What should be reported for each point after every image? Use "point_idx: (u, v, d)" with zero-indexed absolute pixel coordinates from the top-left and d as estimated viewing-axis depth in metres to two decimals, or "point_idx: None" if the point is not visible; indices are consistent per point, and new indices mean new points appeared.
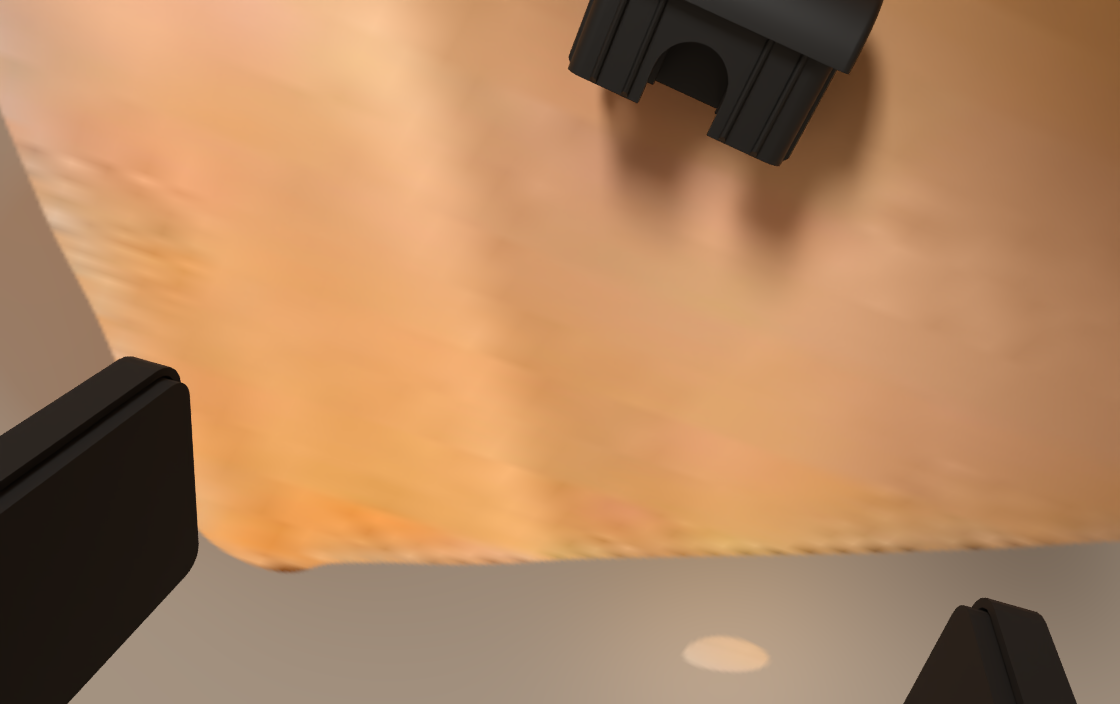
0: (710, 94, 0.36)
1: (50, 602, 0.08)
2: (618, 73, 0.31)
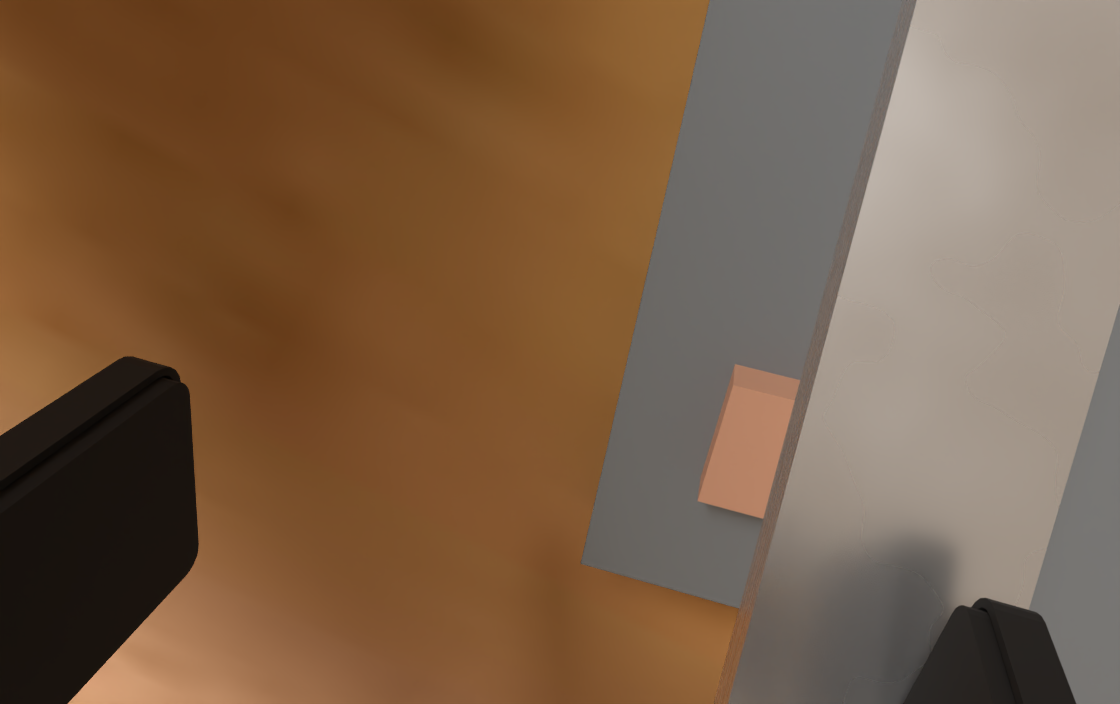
0: None
1: (50, 602, 0.08)
2: None
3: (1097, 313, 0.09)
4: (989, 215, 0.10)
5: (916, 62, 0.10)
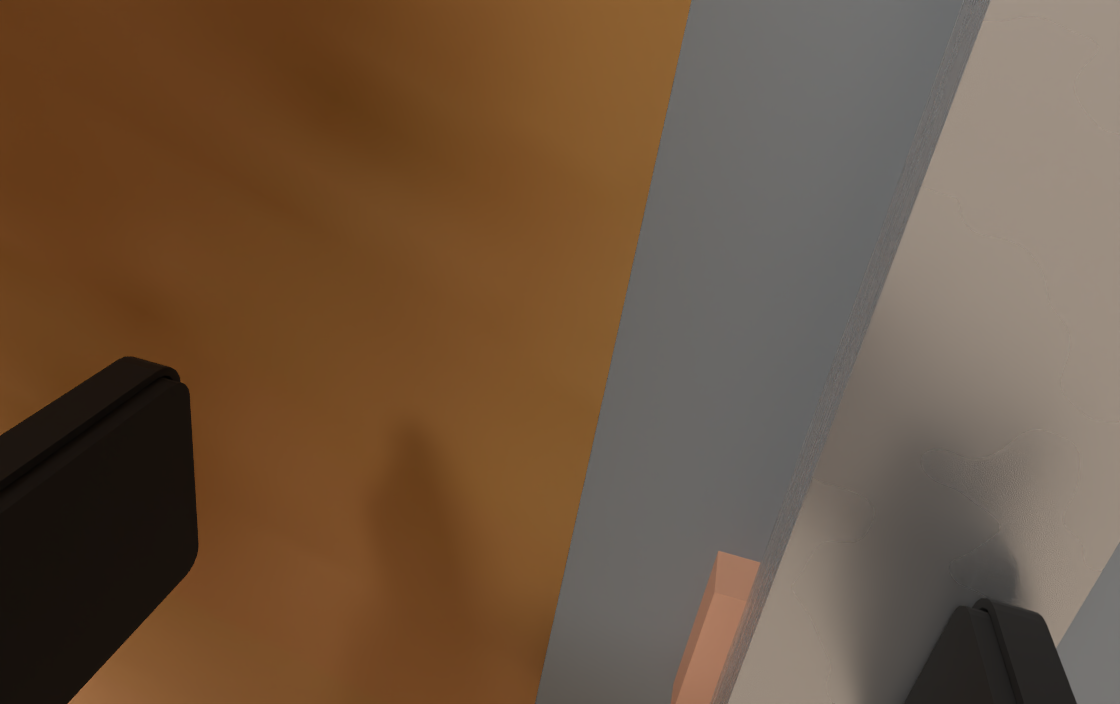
0: None
1: (50, 602, 0.08)
2: None
3: (1111, 516, 0.08)
4: (998, 408, 0.08)
5: (924, 233, 0.07)
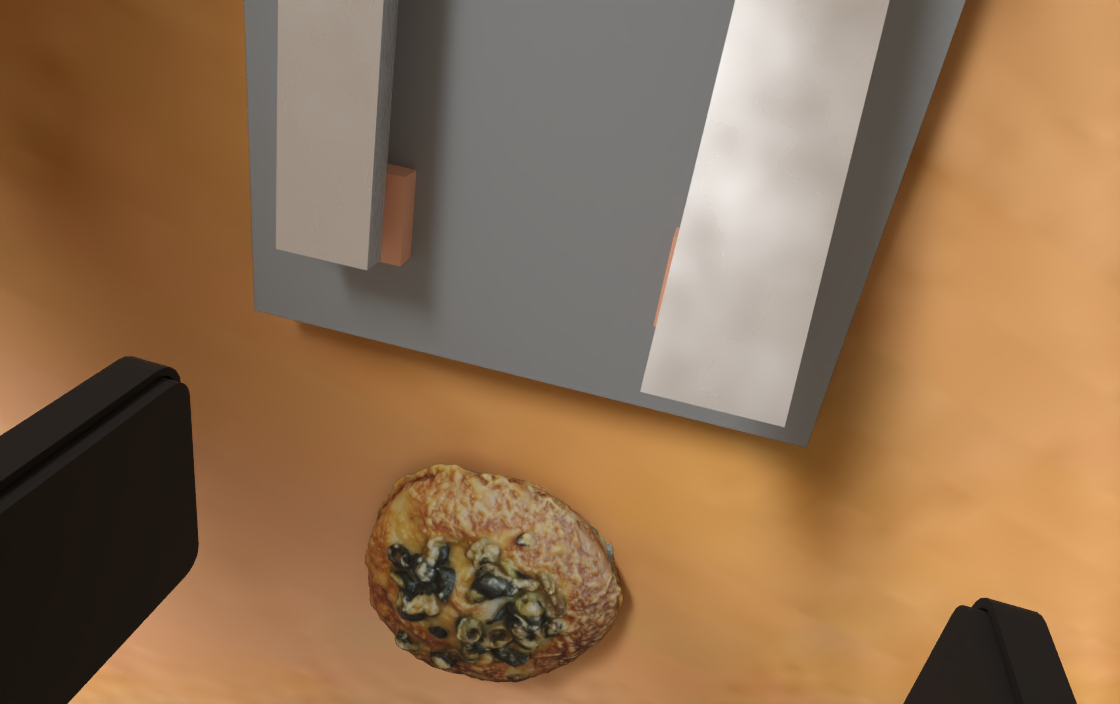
0: None
1: (50, 602, 0.08)
2: None
3: (372, 52, 0.22)
4: (326, 11, 0.22)
5: None
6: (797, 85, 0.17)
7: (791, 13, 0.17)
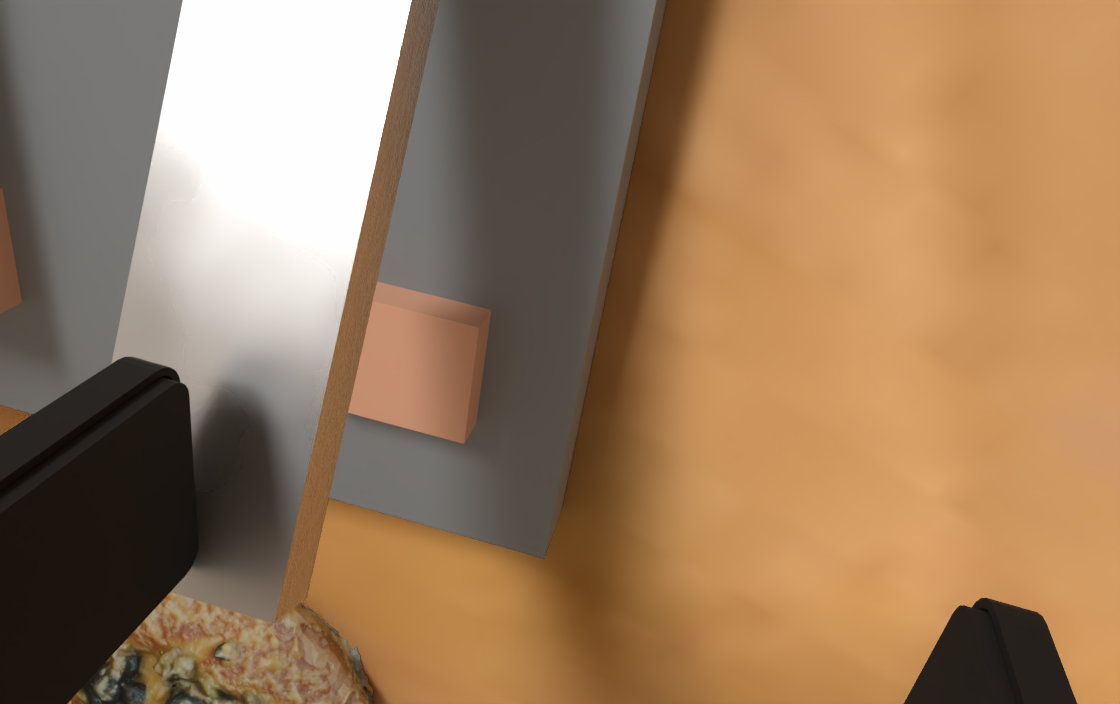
0: None
1: (49, 602, 0.08)
2: None
3: None
4: None
5: None
6: (286, 91, 0.11)
7: None
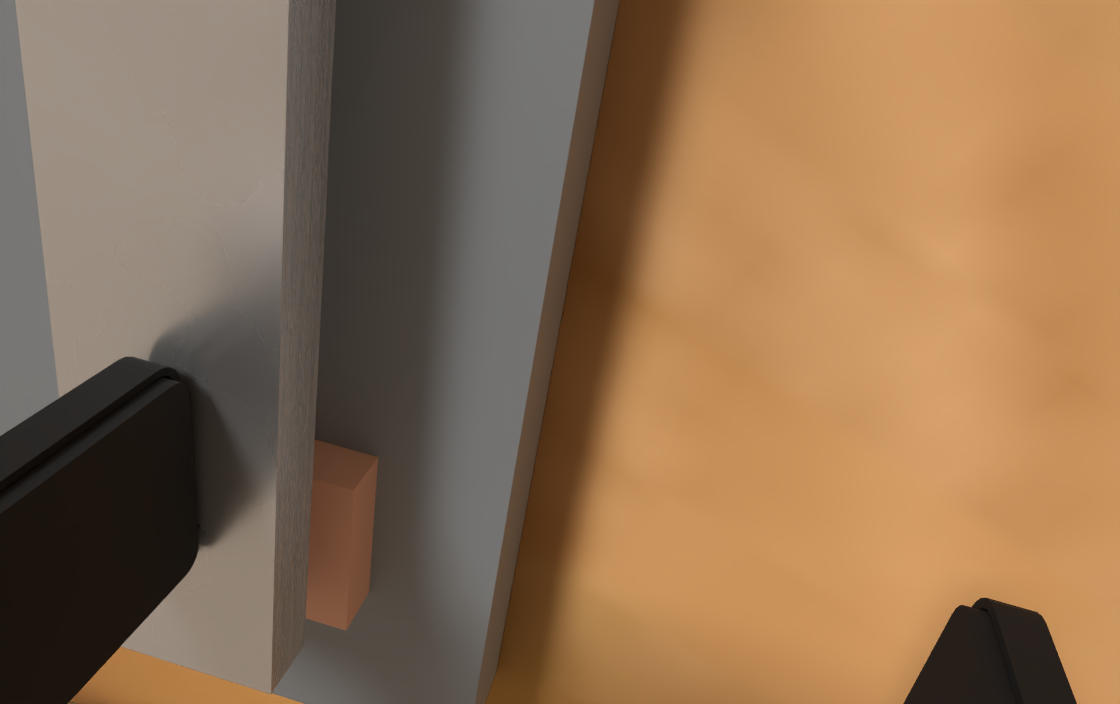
0: None
1: (50, 602, 0.08)
2: None
3: None
4: None
5: None
6: (167, 226, 0.09)
7: (122, 86, 0.09)
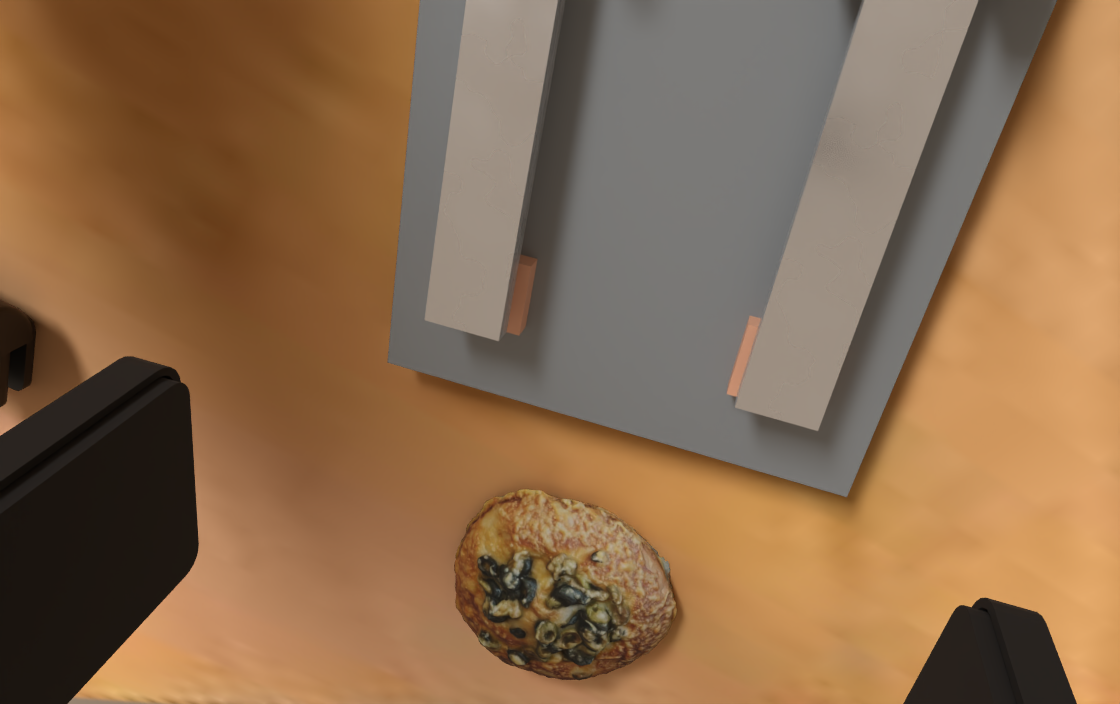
0: None
1: (50, 602, 0.08)
2: None
3: (521, 176, 0.29)
4: (486, 143, 0.29)
5: (458, 91, 0.28)
6: (842, 239, 0.27)
7: (842, 193, 0.26)
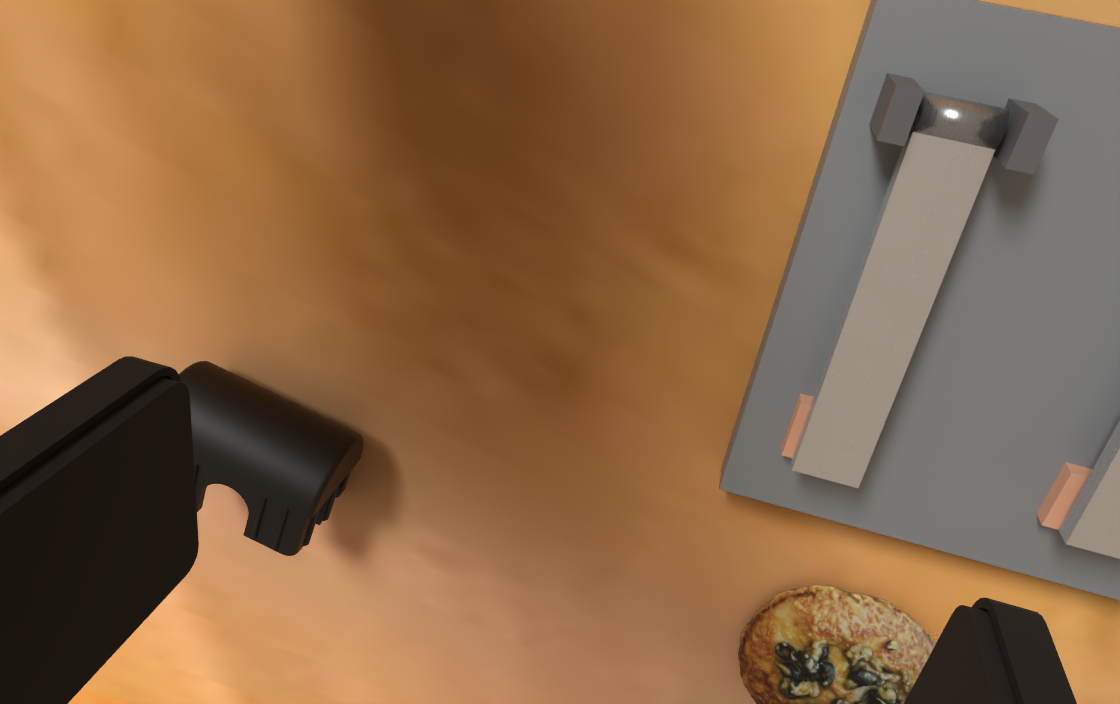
0: None
1: (50, 602, 0.08)
2: None
3: (903, 364, 0.35)
4: (875, 338, 0.35)
5: (857, 299, 0.34)
6: None
7: None
